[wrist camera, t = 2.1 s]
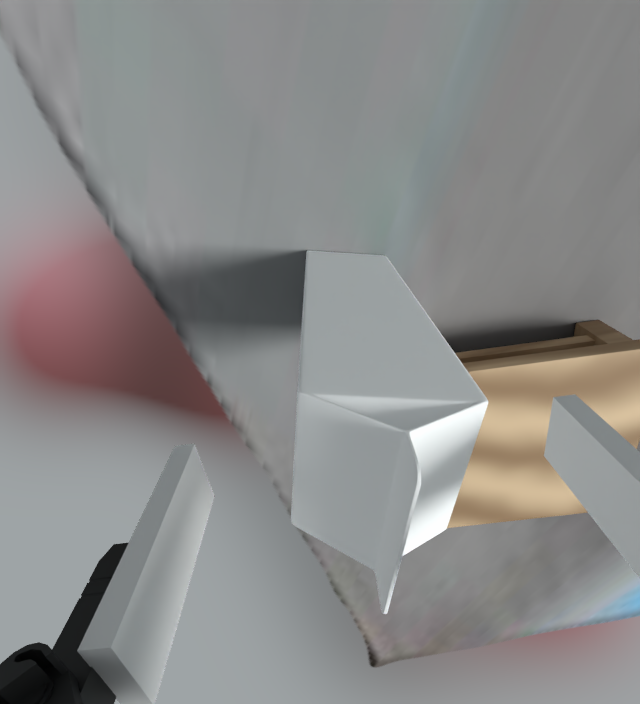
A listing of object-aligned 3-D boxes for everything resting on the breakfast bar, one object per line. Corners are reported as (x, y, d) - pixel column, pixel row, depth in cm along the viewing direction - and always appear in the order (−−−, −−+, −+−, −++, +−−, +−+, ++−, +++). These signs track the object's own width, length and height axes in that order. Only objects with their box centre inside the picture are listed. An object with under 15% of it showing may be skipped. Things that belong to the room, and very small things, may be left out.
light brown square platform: (409, 339, 32) (428, 376, 26) (607, 312, 31) (669, 345, 25) (415, 478, 39) (431, 529, 34) (575, 459, 38) (617, 509, 33)
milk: (302, 323, 31) (279, 618, 11) (306, 248, 28) (284, 469, 9) (377, 327, 31) (478, 624, 12) (388, 253, 28) (547, 480, 9)
